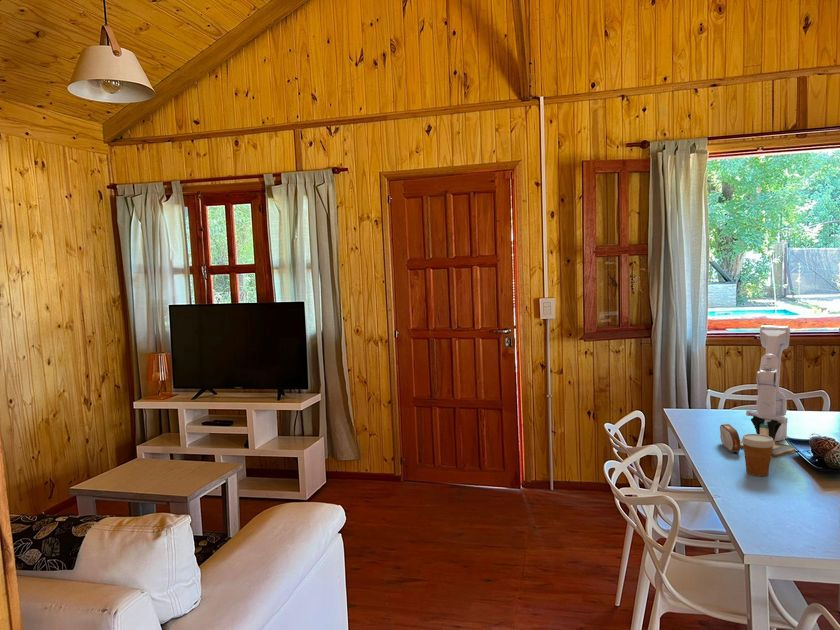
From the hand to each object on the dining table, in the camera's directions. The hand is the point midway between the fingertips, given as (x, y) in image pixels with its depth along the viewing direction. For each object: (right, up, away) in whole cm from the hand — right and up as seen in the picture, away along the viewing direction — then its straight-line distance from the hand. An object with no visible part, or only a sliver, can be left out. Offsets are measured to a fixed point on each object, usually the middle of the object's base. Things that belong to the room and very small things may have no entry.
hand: (765, 438), depth 224 cm
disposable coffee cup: (-17, -7, -24) cm, 30 cm away
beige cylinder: (0, -2, 0) cm, 2 cm away
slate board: (0, -4, 0) cm, 4 cm away
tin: (-13, -4, +2) cm, 13 cm away
